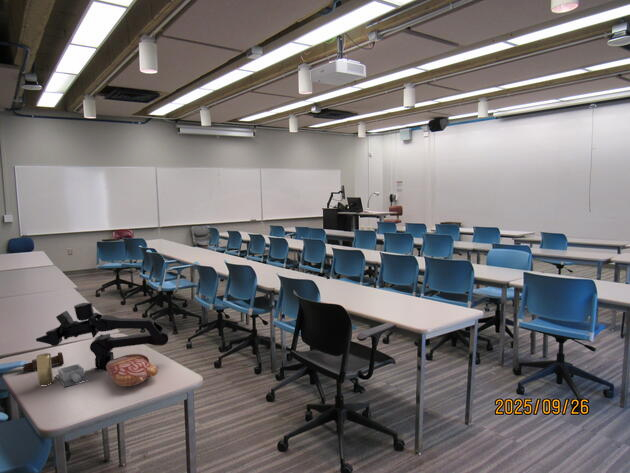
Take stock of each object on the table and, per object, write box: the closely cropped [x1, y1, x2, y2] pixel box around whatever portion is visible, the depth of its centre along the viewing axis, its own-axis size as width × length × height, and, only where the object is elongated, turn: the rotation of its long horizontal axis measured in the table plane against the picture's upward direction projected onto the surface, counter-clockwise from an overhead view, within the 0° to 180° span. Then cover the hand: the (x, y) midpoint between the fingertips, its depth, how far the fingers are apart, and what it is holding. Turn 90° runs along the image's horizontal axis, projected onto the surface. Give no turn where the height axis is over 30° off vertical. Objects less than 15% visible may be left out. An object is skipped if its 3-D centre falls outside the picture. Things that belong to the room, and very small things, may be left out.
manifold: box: [55, 363, 91, 388], centre depth 177 cm, size 9×14×4 cm, turn 44°
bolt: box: [22, 351, 65, 372], centre depth 189 cm, size 6×5×15 cm
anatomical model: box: [106, 353, 158, 387], centre depth 177 cm, size 17×7×30 cm
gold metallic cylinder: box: [35, 352, 54, 387], centre depth 172 cm, size 5×5×12 cm
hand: (41, 336), depth 182 cm, fingers open, 9 cm apart
